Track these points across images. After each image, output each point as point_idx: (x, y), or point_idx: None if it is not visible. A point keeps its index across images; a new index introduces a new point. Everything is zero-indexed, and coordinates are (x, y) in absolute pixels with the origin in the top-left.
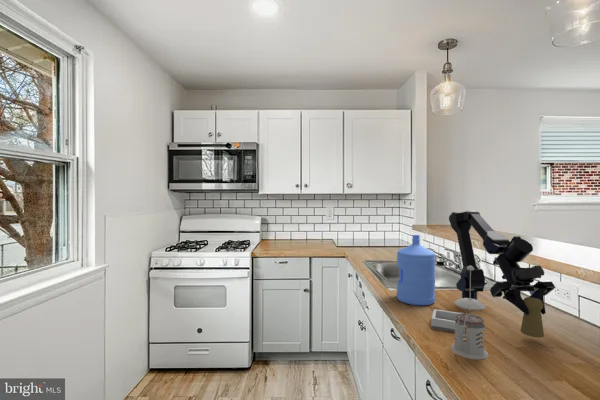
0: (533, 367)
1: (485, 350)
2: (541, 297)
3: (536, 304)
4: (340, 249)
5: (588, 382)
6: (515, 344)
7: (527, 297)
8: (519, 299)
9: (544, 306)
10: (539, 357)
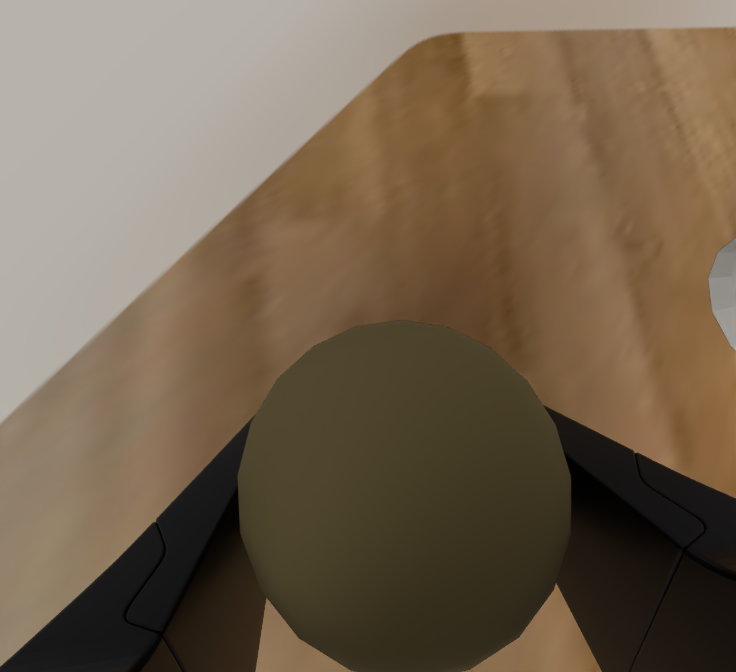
0: (540, 174)
1: (726, 297)
2: (112, 611)
3: (428, 325)
4: None
5: (387, 88)
6: None
7: (487, 593)
8: (697, 485)
9: (213, 459)
10: (459, 259)
